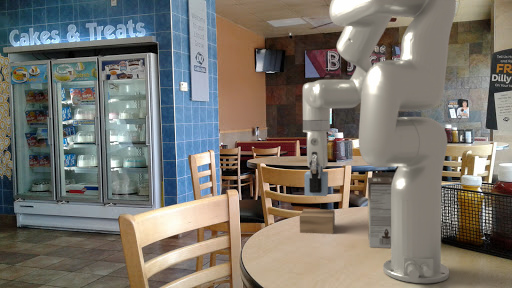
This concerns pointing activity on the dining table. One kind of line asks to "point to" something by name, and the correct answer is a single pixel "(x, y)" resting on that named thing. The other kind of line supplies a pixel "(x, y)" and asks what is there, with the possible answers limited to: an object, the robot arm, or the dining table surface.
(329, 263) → the dining table surface
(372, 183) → the coffee box
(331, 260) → the dining table surface
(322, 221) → the walnut block
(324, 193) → the slate cube
